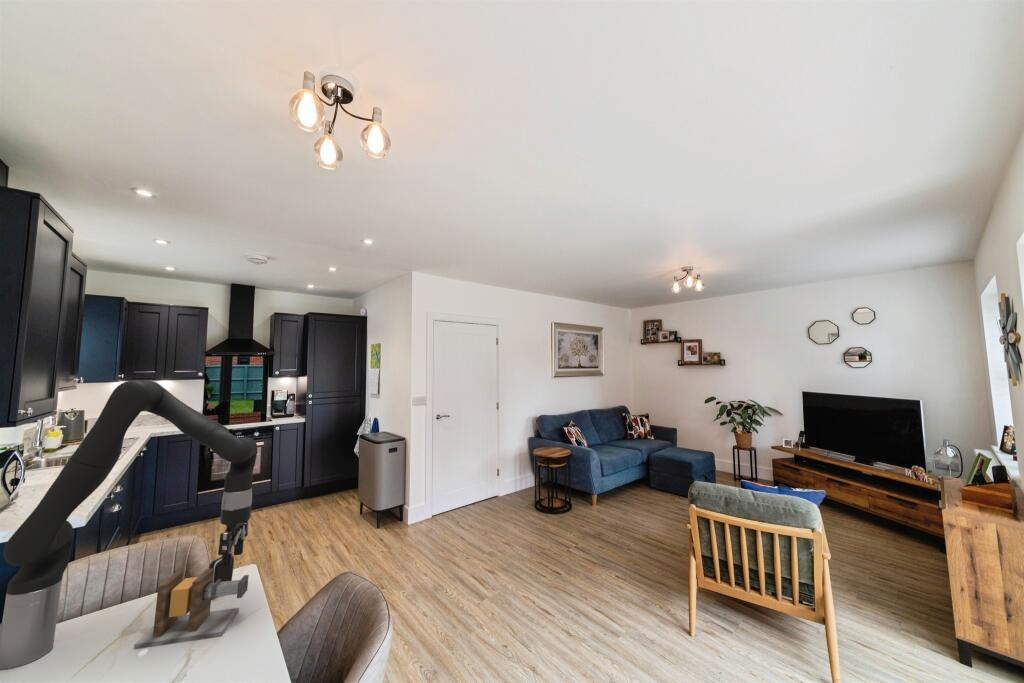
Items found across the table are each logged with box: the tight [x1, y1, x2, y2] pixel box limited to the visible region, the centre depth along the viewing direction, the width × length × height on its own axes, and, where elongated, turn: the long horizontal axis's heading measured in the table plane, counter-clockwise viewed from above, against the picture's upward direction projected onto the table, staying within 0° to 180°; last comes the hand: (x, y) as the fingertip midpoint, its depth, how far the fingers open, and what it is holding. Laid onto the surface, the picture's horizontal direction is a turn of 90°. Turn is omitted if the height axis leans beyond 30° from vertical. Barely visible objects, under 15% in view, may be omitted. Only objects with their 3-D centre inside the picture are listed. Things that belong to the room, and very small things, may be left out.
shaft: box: [169, 574, 250, 603], centre depth 111 cm, size 21×4×4 cm, turn 106°
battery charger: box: [208, 555, 235, 583], centre depth 129 cm, size 7×4×11 cm, turn 171°
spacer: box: [169, 576, 199, 617], centre depth 110 cm, size 4×7×7 cm, turn 16°
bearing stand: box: [133, 568, 240, 650], centre depth 110 cm, size 20×12×14 cm, turn 106°
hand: (232, 560), depth 114 cm, fingers open, 8 cm apart
